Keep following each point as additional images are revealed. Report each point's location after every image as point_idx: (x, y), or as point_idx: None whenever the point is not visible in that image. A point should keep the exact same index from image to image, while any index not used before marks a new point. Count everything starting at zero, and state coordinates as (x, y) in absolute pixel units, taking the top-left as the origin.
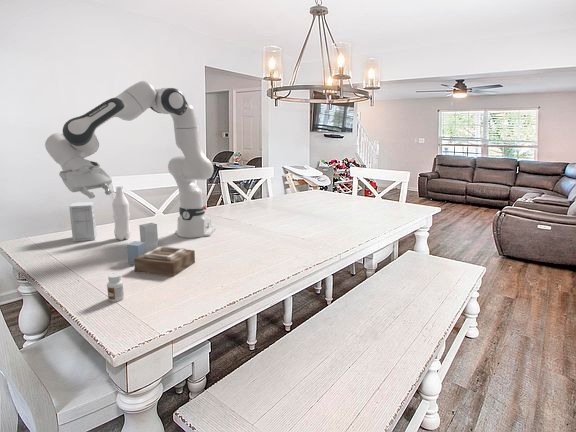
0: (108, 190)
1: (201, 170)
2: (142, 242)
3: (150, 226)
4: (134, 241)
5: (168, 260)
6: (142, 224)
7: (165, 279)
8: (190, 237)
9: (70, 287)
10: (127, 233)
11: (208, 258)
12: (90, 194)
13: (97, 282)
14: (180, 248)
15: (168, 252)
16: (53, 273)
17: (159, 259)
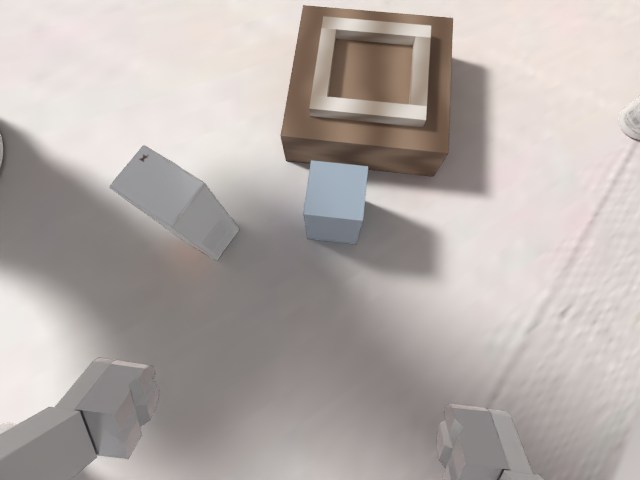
0: (115, 389)
1: None
2: (315, 171)
3: (178, 166)
4: (306, 212)
5: (432, 40)
6: (156, 215)
7: (467, 65)
8: (2, 150)
9: (623, 299)
10: (5, 427)
11: (259, 18)
12: (516, 449)
13: (556, 240)
14: (325, 32)
15: (346, 73)
16: (538, 461)
17: (429, 70)
